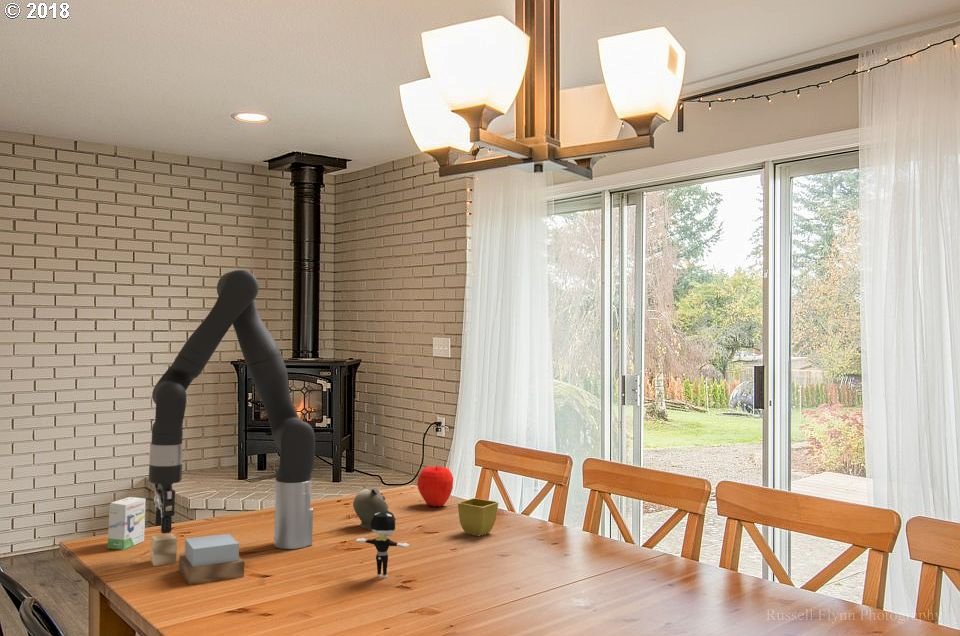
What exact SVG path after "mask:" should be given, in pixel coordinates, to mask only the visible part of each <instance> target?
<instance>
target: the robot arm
mask: <svg viewBox="0 0 960 636" xmlns="http://www.w3.org/2000/svg"><path fill="white" fill-rule="evenodd" d="M257 279H258V278H257V277H256V276H255V275H254V274H253V273H252V272H250V271H248V270H243V269H236V270H231V271H229V272H226V273H224V274H223V275H222V276H221V277H220V278H219V279H218V281H217V284H216V291H217V293H216V294H217V295H218V296H217V300H216V302H215V303H214V305H213V307H212V308H211V310H210V311H209V313H208V314H207V315H206V317H205V318H204V320H203V321H202V322H201V323H200V324H199V325H198V327H197V328H196V329H195V330H194V331H193V333H192V334H191V335H190V336H189V338H187V340H186V342H185V343H184V344H183V345H182V348H181V349H180V351H179V352H178V354H177V355H176V357H175V359H174V361H173V362H172V364H171V365H170V366H169V367H168V368H167V370H166V371H165V372H164V373H163V374H162V376H160V378H159V380H158V381H157V382H156V383H155V386H154V388H153V389H152V393H151V394H152V395H151V397H152V401H153V402H154V404H155V416H154V418H155V419H154V420H155V421H154V422H153V424H152V426H151V427H152V430H151V445H150V451H149V460H148V461H149V462H148V464H149V465H148V482H149V483H151V484H154V499H153V506H154V510H155V520H154V521H155V522H154V524H155V526H156V527H160V533H161V534H171V532H172V522H173V521H172V520H173V519H172V518H173V517H174V516H175V513H176V512H175V508H176V507H175V505H176V504H175V503H176V500H175V499H176V490H175V489H173V484H176V483H177V484H178V483H180V482H181V481H182V479H183V478H182V476H183V456H184V453H183V452H184V451H183V450H184V449H183V437H184V436H183V434H184V433H183V422H184V418H185V413H186V407H187V406H186V405H187V392H186V391H187V389H188V388H189V386H190V385H191V384H192V382H193V381H194V380H195V379H196V378H198V377H199V376H200V375H201V373H202V372H203V370H204V369H205V367H206V365H207V364H208V362H209V360H210V359H211V358H212V356H213V355H214V354H215V353H214V352H215V351H216V349H217V348H218V346H219V345H220V343H221V342H222V340H223V339H224V337H225V335H226V334H227V332H228V331H229V329H230V328H231V326H233V328H234V331H235V335H236V337H237V341H238V344H239V348H240V351H241V353H242V356H243V358H244V362H245V365H246V367H247V370H248V373H249V376H250V378H251V380H252V382H253V385H254V387H255V390H256V392H257V393H258V396H259V398H260V400H261V401H262V402H261V403H262V404H263V406H264V409H265V412H266V415H267V420H268V423H269V428H270V430H271V434H272V438H273V441H274V443H275V445H276V446H277V448H278V449H279V450H280V452H279V453H280V456H279V465H278V467H277V469H276V471H275V488H274V489H275V495H274V498H275V499H274V500H275V501H274V502H275V503H274V532H273V533H274V536H273V544H274V545H273V546H274V547H275V548H278V549H283V550H296V549H302V548H306V547H308V546H313V532H314V531H313V530H314V529H313V528H314V509H313V507H311V502H312V499H311V497H312V472H313V470H314V467H315V456H316V455H315V452H316V451H315V450H316V435H315V431H314V428H313V427H312V426H311V424H310V423H308V422H306V421H303V420H301V418H300V417H299V414H298V413H297V410H296V407H295V406H294V404H293V401H292V398H291V393H290V385H289V383H290V382H289V376H288V371H287V367H286V363H285V361H284V358H283V356H282V353H281V350H280V349H279V346H278V344H277V343H276V341H275V340H276V339H274V337H273V335H272V334H271V332H270V331H269V330H268V328H267V327H266V325H265V324H264V322H263V319H261V316H260V314H259V312H258V308H257V304H256V301H255V299H256V297H257V296H258V294H259V288H260V286H259V282H258V280H257Z"/></svg>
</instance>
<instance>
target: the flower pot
mask: <svg viewBox="0 0 960 636" xmlns="http://www.w3.org/2000/svg"><path fill="white" fill-rule="evenodd" d="M498 507H499V502H498V501H495V500H489V499H481V498H476V497H472V498H469V499H465V500H463V501H459V502H457V508H458V519H459V523H460V526H461V528H462V530H463V532H464V533H465V534H466V533H469V534H468V535H471V534H474V535H473V536H476V535H482V536H484V535H483V534H485V533H487V534H489V533H490V532H491V530H492V529H493V527H494V525H495V523H496V519H497V514H498V509H499V508H498ZM488 532H489V533H488ZM485 535H486V534H485Z"/></svg>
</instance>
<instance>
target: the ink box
mask: <svg viewBox="0 0 960 636" xmlns="http://www.w3.org/2000/svg"><path fill="white" fill-rule="evenodd" d="M146 499H147V498H143V497H142V498H141V497H137V496H136V497H135V496H128V497H125V498H121V499H118V500H115V501H112V502H111V503H110V504H109V512H108V513H109V514H108V515H109V516H108V531H107V549H110V548H111V550H120V551H121V550H123V551H124V550H126V549H129V548H131V547H133V546H136V545H137V544H138V545H139V544H140V543H142V542H144V541H145V524H146V501H147V500H146Z"/></svg>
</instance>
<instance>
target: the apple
mask: <svg viewBox="0 0 960 636" xmlns="http://www.w3.org/2000/svg"><path fill="white" fill-rule="evenodd" d="M416 486H417V489H418V492H419V495H421V498H422V499H423V500H424V502H425V504H427V505H428V506H431V507H436V506H439V507H443V506H445V504H446V503H447V501H448V500H449V498H450V496H451V495H452V491H453V488H454V476H453V473H452V471H451V470H450V469H449V468H447V467H444V466H438V465H436V466H426V467H424V468H423V469H422V470H421V471H420V473H419V475H418V477H417V485H416Z"/></svg>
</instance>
